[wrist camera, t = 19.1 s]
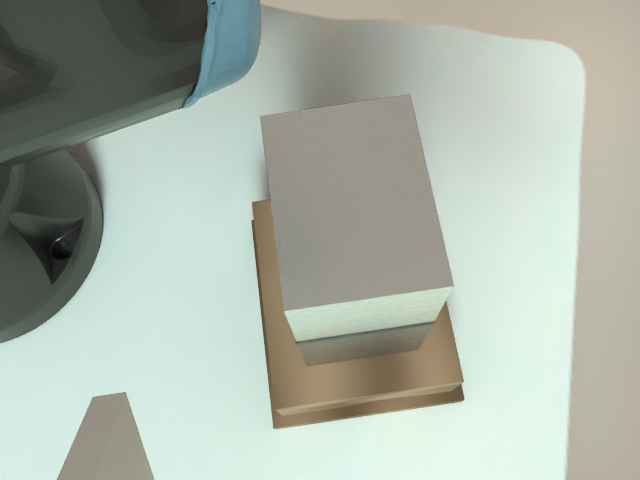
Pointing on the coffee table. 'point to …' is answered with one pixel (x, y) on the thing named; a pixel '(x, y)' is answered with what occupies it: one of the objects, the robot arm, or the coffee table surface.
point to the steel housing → (355, 229)
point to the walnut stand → (347, 376)
